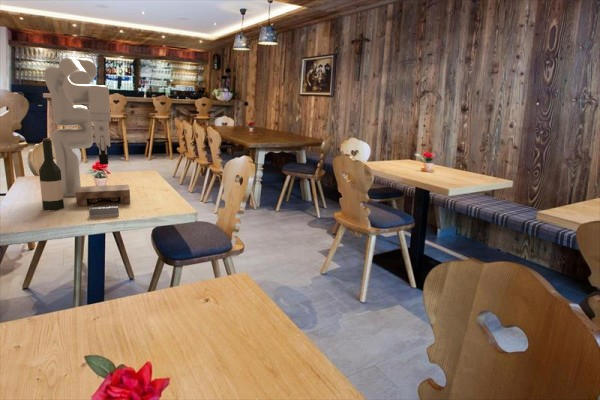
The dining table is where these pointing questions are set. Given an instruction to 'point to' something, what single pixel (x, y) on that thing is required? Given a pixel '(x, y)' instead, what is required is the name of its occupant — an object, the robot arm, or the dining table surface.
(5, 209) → the dining table surface
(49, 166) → the wine bottle
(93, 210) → the tray
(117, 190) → the shelf
